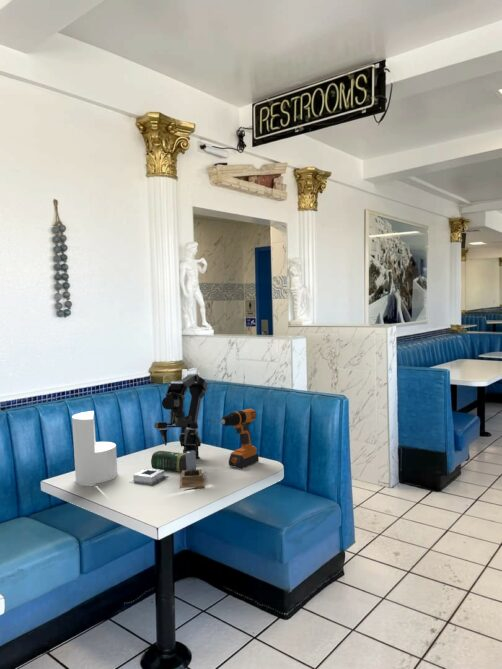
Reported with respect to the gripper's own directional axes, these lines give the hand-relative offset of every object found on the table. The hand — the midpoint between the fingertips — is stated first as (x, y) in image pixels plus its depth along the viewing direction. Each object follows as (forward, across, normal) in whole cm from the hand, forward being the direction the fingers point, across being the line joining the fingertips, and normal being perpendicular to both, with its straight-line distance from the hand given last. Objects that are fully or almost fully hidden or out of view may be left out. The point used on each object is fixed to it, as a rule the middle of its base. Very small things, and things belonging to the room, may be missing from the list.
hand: (175, 445), depth 229 cm
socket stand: (+14, -13, -5) cm, 20 cm away
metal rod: (+13, +2, -16) cm, 21 cm away
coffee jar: (+7, -6, +10) cm, 13 cm away
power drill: (+9, +28, -8) cm, 31 cm away
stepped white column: (+15, -31, +12) cm, 36 cm away
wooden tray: (+14, +2, -16) cm, 22 cm away
